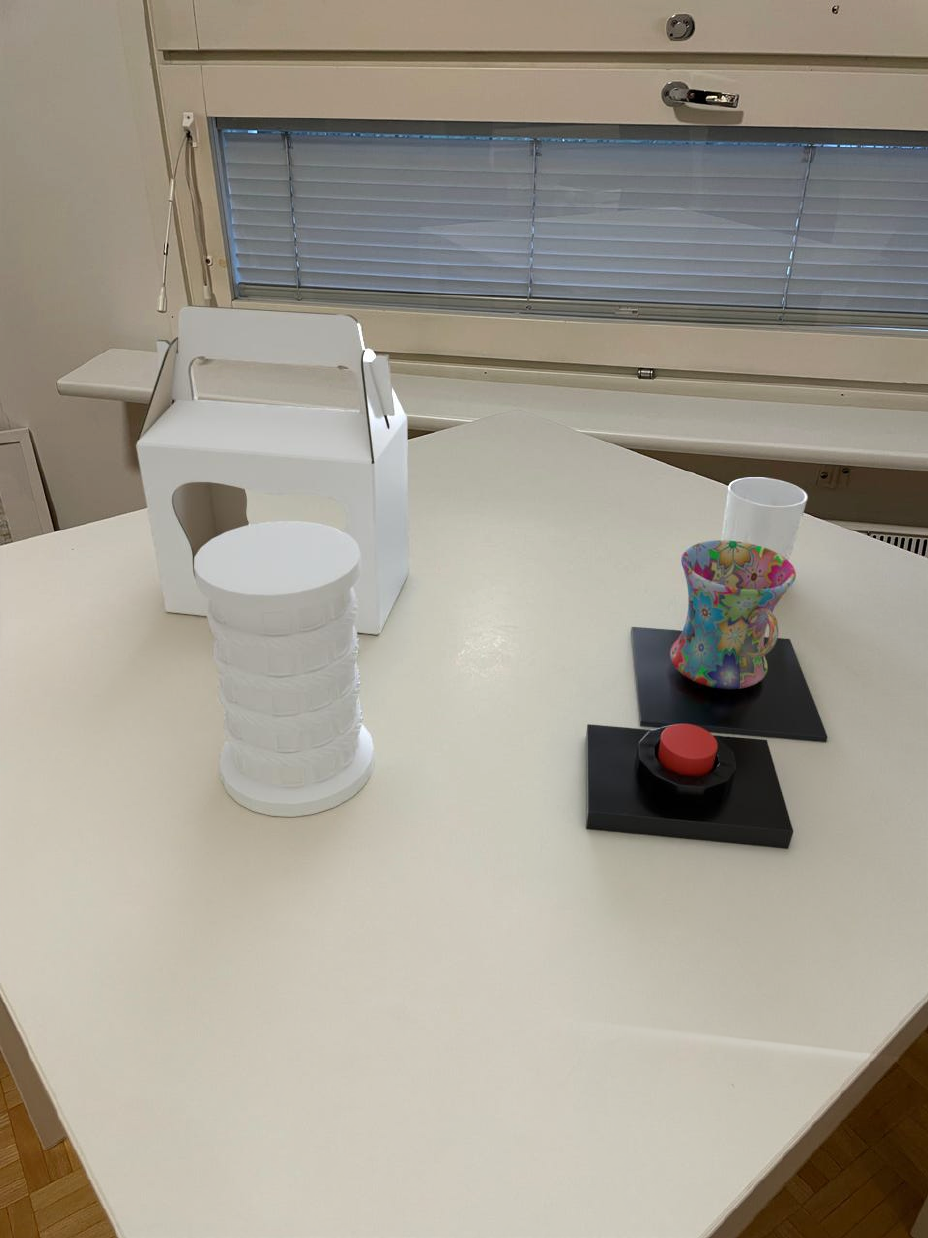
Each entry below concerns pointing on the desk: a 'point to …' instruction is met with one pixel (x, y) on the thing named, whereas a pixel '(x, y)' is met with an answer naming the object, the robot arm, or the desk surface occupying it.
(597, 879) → the desk surface
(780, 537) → the white cup
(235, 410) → the gable box
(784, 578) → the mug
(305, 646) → the decorative container
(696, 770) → the button
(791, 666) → the plate
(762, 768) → the control block
